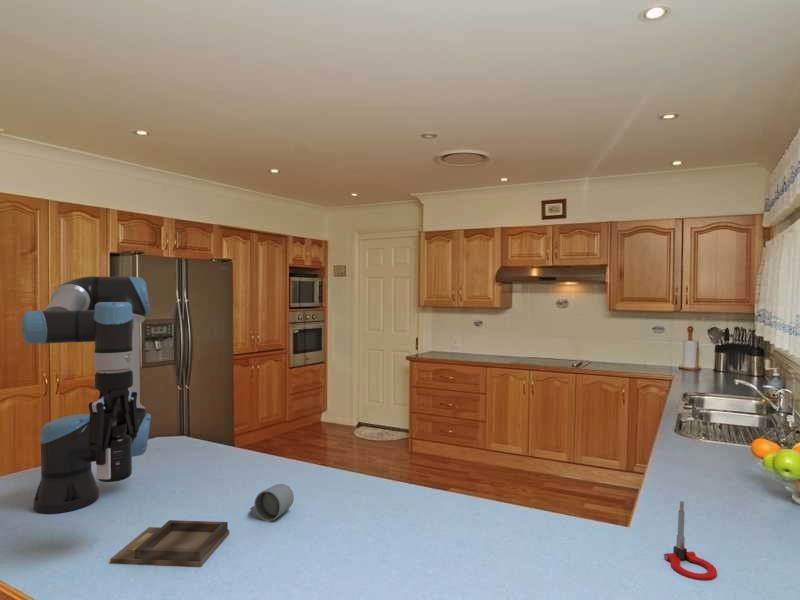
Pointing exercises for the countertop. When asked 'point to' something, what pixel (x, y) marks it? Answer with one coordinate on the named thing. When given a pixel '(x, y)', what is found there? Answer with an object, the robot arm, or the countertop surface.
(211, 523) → the framed wooden board
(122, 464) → the supplement bottle
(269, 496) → the ceramic mug
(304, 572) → the countertop surface
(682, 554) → the tow hook
